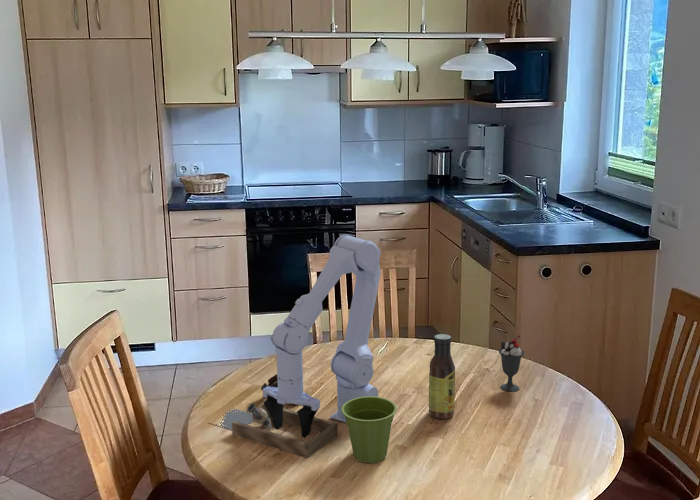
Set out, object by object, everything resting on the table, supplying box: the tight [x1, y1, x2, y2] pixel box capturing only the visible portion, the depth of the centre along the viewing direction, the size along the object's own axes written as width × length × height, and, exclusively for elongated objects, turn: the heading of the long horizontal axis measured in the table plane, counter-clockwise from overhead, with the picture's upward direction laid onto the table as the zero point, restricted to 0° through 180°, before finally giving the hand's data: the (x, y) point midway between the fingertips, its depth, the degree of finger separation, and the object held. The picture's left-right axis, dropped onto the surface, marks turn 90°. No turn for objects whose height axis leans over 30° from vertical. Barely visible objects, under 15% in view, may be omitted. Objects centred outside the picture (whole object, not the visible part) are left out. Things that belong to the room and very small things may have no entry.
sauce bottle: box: [428, 333, 456, 420], centre depth 174 cm, size 7×6×20 cm
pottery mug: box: [260, 373, 298, 407], centre depth 186 cm, size 12×10×8 cm
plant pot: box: [341, 396, 398, 464], centre depth 157 cm, size 12×12×11 cm
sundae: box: [497, 334, 525, 393], centre depth 189 cm, size 7×7×15 cm
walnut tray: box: [231, 403, 339, 459], centre depth 167 cm, size 21×12×3 cm, turn 58°
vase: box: [246, 403, 273, 431], centre depth 171 cm, size 5×5×6 cm
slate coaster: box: [215, 407, 255, 431], centre depth 175 cm, size 9×9×1 cm
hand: (292, 431), depth 166 cm, fingers open, 7 cm apart
